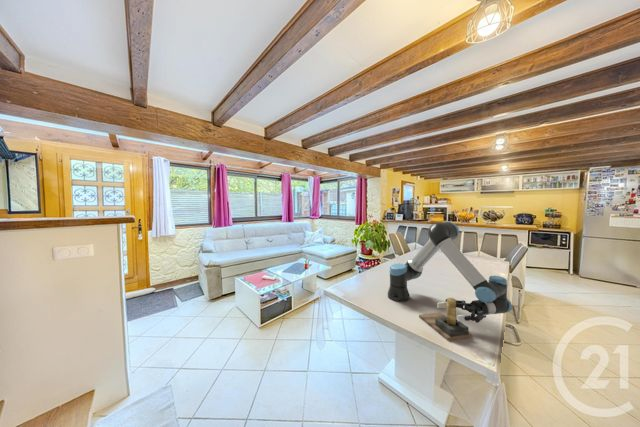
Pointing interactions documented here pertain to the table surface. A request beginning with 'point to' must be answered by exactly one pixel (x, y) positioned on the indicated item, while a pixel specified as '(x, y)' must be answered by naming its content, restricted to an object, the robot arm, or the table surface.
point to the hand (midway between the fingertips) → (447, 311)
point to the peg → (451, 311)
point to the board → (432, 324)
